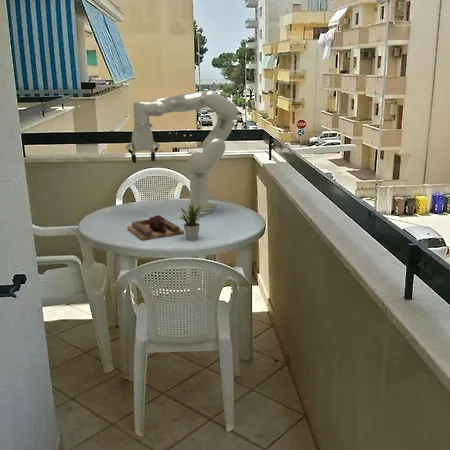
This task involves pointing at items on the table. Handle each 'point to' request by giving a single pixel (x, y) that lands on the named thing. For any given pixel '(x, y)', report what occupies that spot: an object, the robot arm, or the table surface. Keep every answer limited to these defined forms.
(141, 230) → the cradle
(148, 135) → the robot arm
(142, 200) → the table surface
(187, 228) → the house plant
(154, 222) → the icecream
